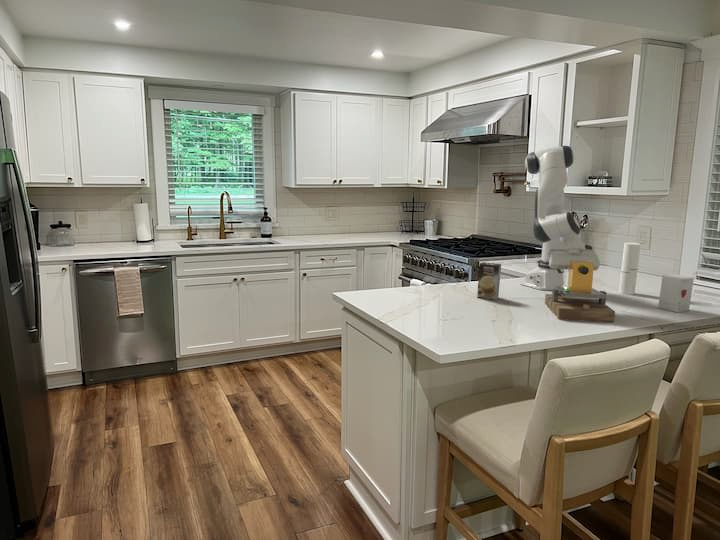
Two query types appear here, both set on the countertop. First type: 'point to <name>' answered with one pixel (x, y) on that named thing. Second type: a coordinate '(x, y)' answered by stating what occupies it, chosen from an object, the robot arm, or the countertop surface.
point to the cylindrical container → (629, 268)
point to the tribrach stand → (579, 307)
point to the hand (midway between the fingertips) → (575, 276)
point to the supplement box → (676, 292)
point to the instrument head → (580, 281)
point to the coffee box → (489, 280)
